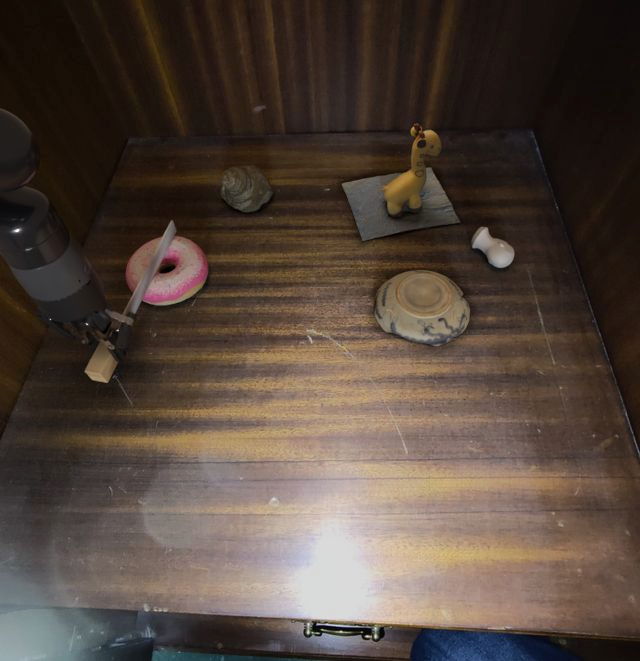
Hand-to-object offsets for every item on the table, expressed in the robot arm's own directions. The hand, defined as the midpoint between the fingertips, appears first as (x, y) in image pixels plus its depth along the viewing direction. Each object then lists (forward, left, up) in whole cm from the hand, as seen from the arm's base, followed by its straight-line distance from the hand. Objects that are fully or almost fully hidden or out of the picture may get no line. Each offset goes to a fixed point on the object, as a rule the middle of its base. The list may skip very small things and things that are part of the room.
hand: (112, 354), depth 73 cm
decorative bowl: (+39, -26, -5) cm, 47 cm away
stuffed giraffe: (+56, -8, -5) cm, 57 cm away
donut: (+16, +9, -5) cm, 19 cm away
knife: (+9, +5, 0) cm, 10 cm away
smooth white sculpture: (+56, -28, -5) cm, 62 cm away
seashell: (+40, +14, -5) cm, 43 cm away
